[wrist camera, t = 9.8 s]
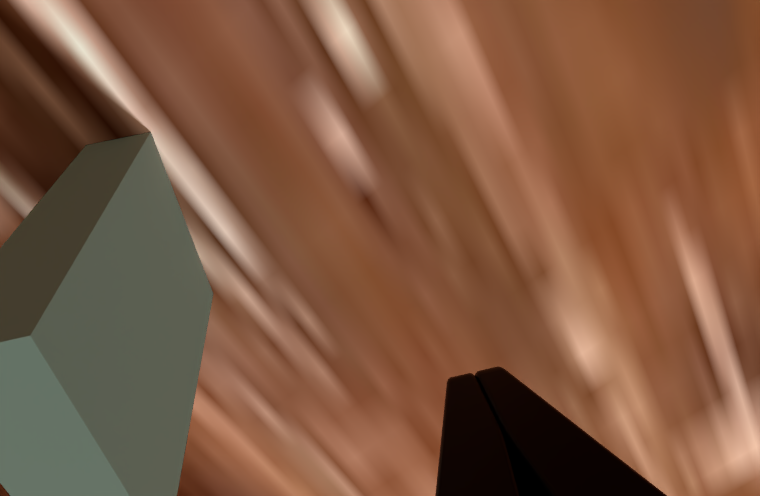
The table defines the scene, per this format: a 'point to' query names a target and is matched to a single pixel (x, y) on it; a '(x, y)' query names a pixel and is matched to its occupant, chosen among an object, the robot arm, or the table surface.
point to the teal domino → (100, 331)
